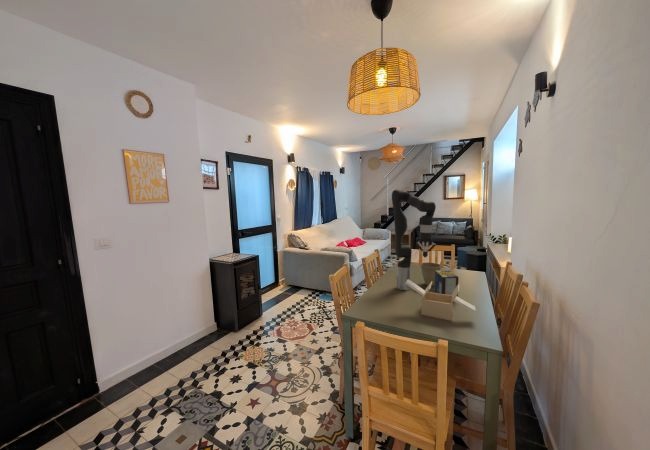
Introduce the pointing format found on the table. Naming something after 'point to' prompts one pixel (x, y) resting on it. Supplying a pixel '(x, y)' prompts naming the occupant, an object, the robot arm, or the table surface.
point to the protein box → (445, 282)
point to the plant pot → (429, 272)
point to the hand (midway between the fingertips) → (425, 257)
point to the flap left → (417, 288)
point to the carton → (437, 306)
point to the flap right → (460, 301)
